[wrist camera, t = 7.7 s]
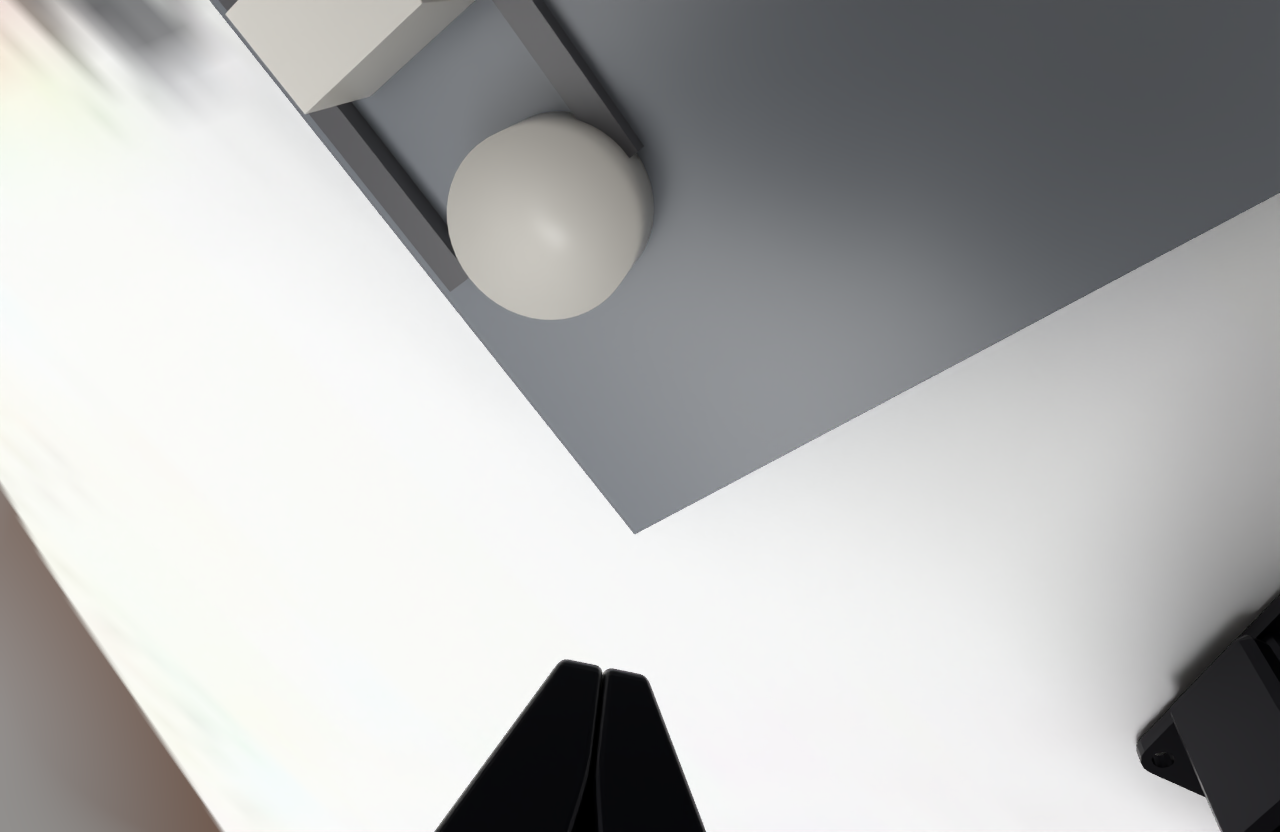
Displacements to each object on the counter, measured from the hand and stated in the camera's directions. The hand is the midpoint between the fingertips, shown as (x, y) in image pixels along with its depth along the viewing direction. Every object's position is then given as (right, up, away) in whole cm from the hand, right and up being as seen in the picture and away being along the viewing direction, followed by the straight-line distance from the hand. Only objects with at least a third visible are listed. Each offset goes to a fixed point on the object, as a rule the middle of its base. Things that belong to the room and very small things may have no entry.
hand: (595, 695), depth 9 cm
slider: (-4, +11, +9) cm, 14 cm away
